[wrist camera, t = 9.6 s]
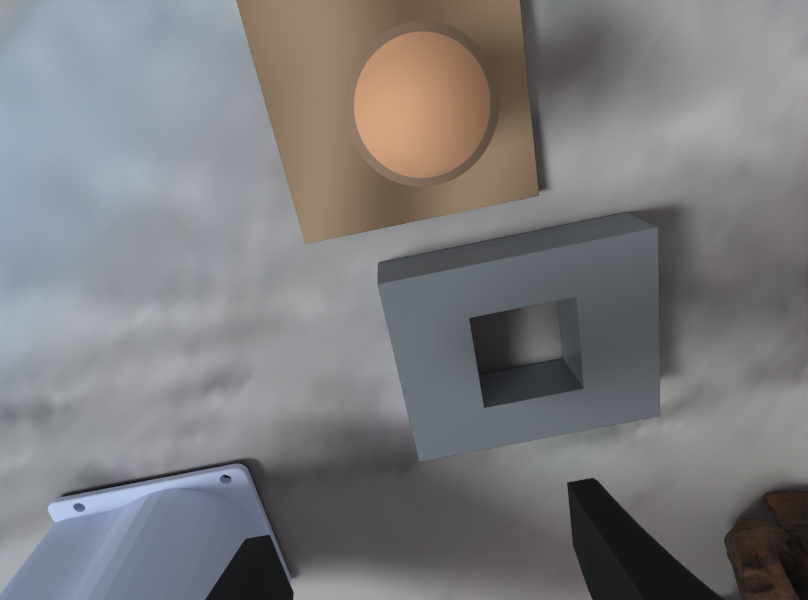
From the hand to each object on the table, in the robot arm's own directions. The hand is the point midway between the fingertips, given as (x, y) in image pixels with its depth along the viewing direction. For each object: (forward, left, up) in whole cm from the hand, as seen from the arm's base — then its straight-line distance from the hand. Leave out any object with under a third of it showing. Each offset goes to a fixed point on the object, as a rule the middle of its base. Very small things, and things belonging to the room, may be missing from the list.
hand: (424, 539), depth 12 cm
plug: (+2, +9, -10) cm, 13 cm away
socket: (+5, 0, -10) cm, 11 cm away
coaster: (+2, +10, -10) cm, 14 cm away
